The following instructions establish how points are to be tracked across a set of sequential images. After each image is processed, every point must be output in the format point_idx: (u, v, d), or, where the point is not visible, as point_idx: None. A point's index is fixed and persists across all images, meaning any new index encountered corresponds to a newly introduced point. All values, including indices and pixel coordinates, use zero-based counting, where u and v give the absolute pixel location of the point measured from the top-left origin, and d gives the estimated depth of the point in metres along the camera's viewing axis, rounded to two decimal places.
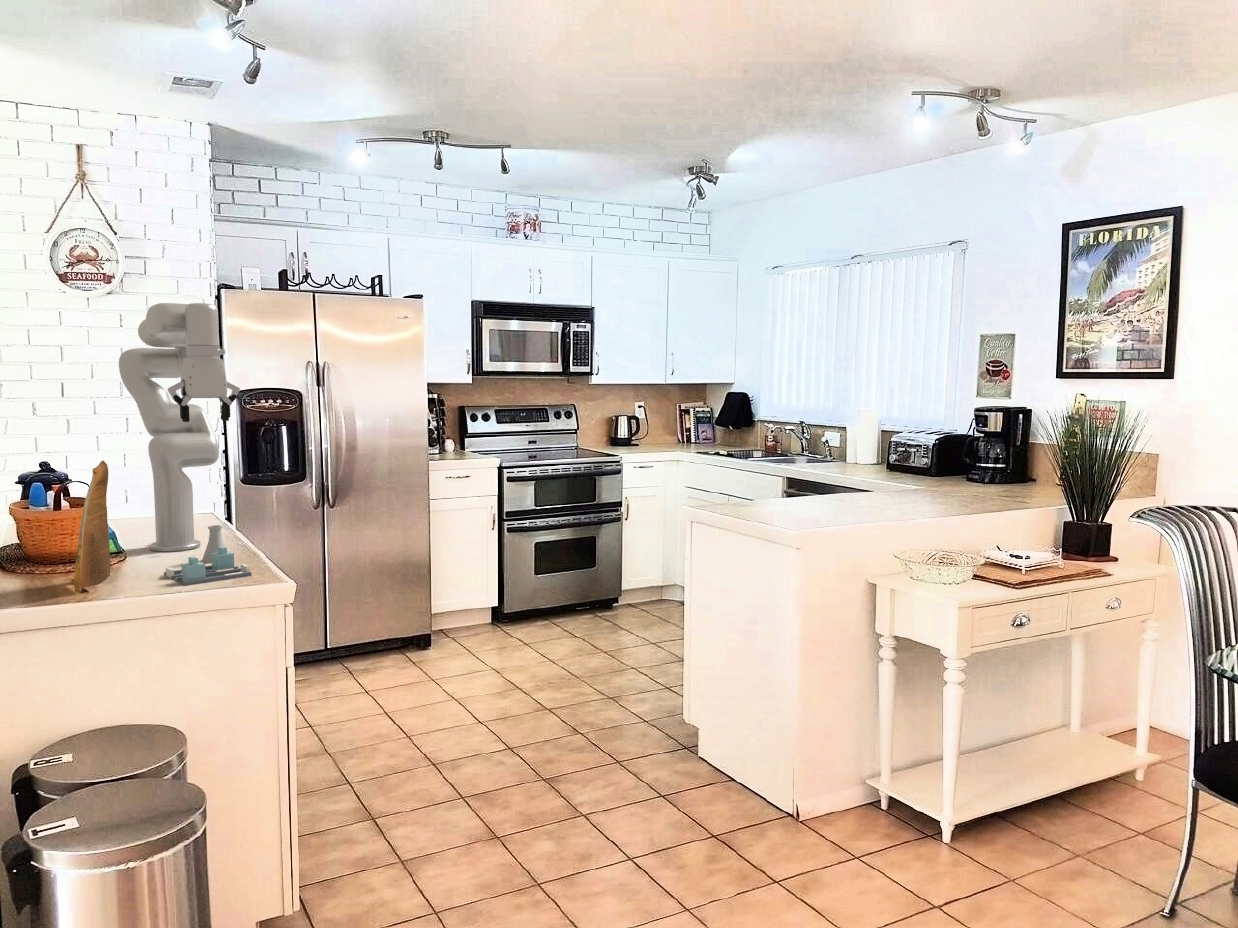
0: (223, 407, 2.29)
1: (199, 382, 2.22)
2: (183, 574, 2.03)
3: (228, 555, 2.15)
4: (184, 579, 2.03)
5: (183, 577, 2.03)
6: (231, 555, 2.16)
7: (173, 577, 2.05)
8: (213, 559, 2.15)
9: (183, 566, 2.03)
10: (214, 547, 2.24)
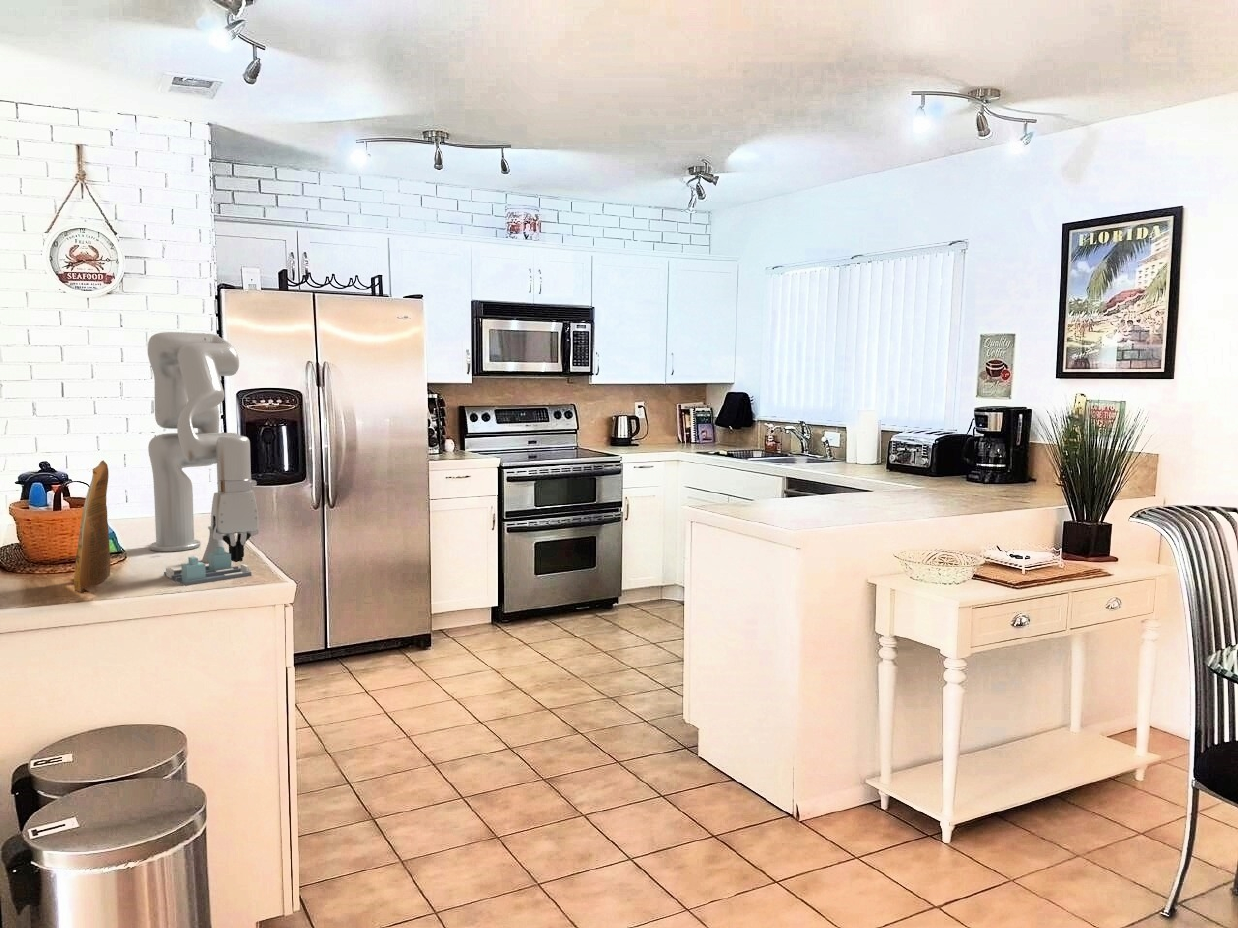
0: None
1: (230, 518, 2.14)
2: (183, 574, 2.03)
3: (225, 555, 2.15)
4: (184, 579, 2.03)
5: (183, 577, 2.03)
6: (228, 555, 2.15)
7: (173, 577, 2.05)
8: (210, 559, 2.14)
9: (183, 566, 2.03)
10: (214, 547, 2.24)
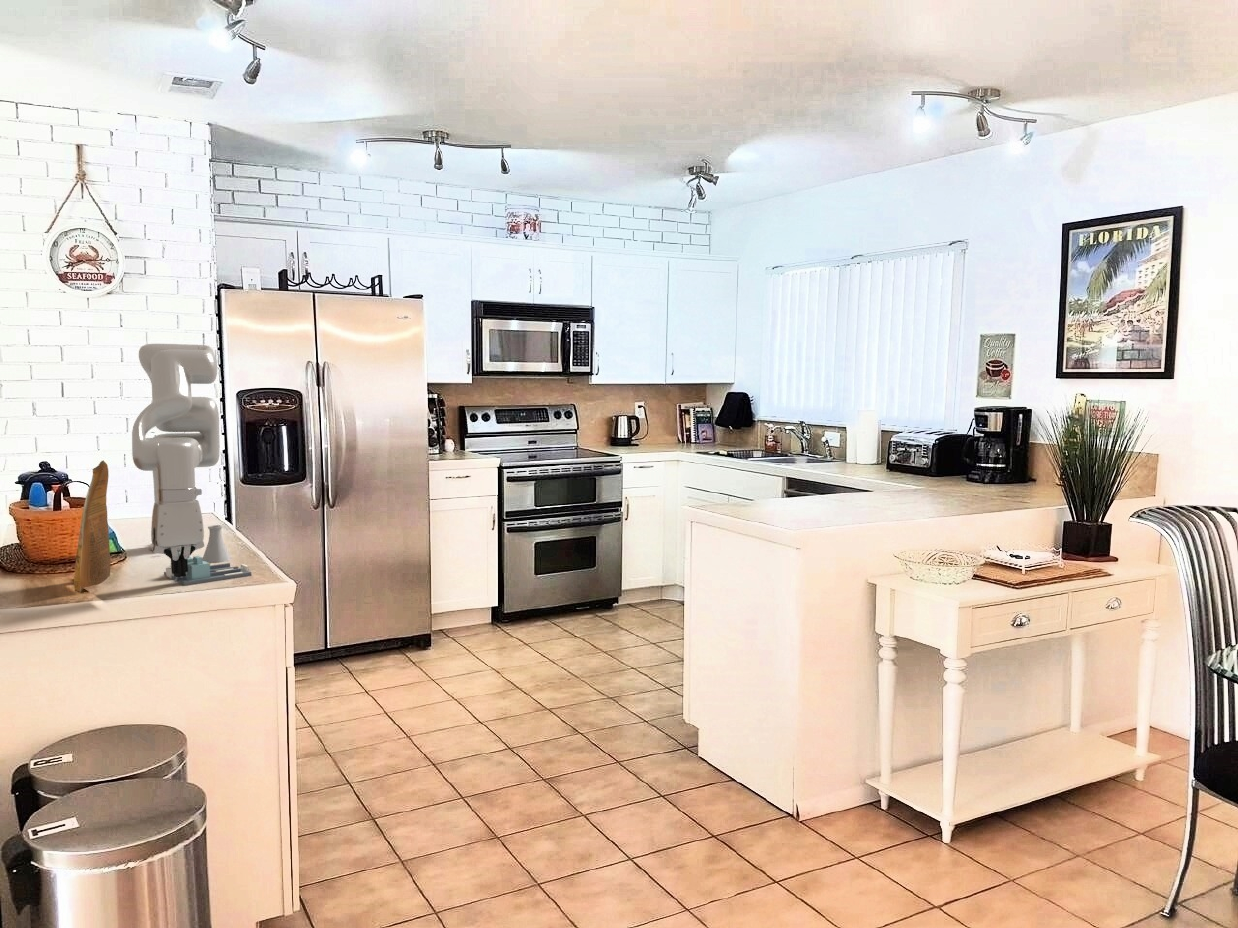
0: None
1: (171, 530, 1.98)
2: (188, 573, 2.04)
3: (188, 560, 2.08)
4: (189, 578, 2.04)
5: (187, 576, 2.04)
6: (191, 560, 2.09)
7: (173, 577, 2.05)
8: None
9: (188, 565, 2.03)
10: (214, 547, 2.24)
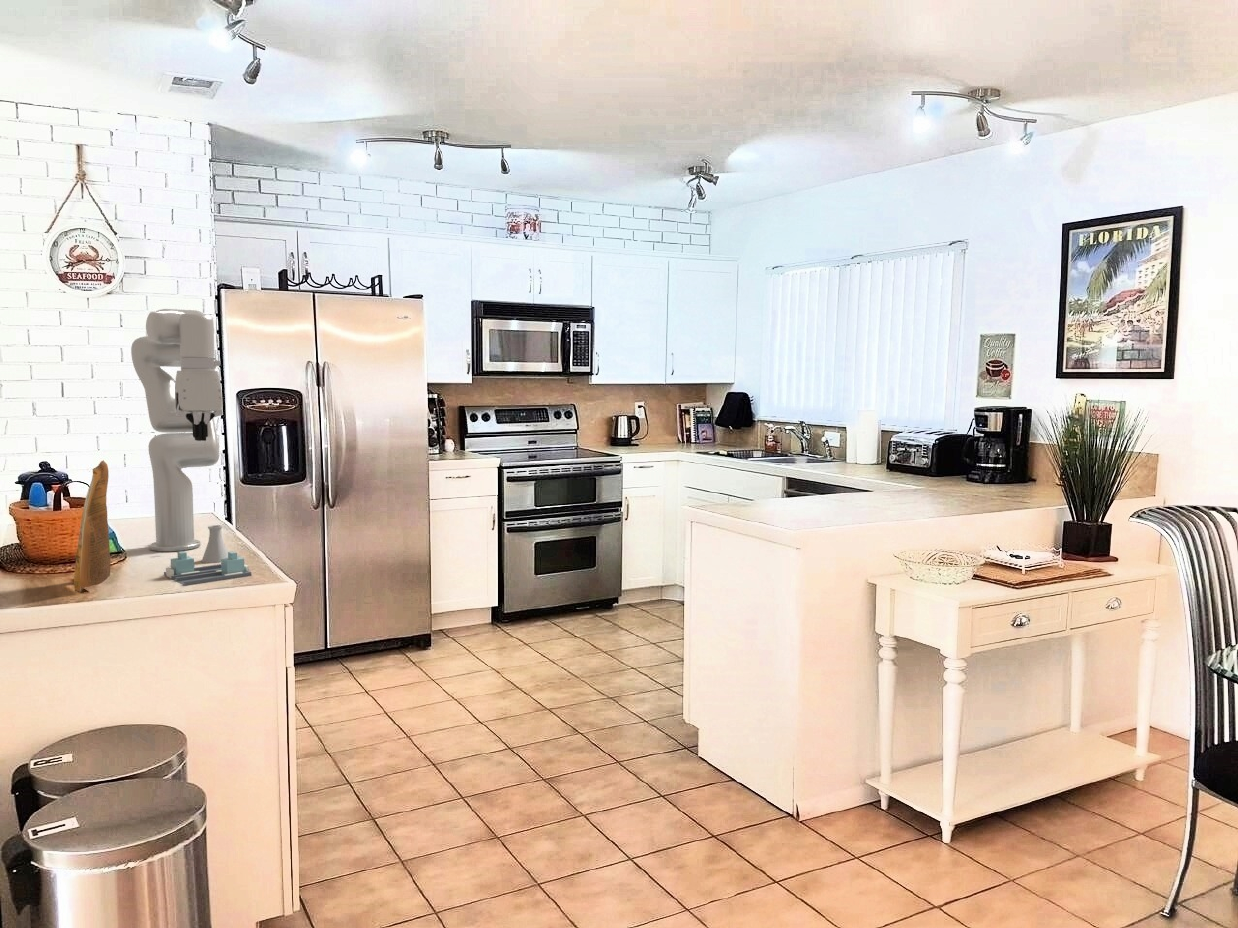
0: None
1: (193, 395, 2.14)
2: (223, 568, 2.09)
3: (188, 560, 2.08)
4: (224, 573, 2.09)
5: (222, 571, 2.10)
6: (191, 560, 2.09)
7: (173, 577, 2.05)
8: (172, 565, 2.08)
9: (223, 561, 2.09)
10: (214, 547, 2.24)
